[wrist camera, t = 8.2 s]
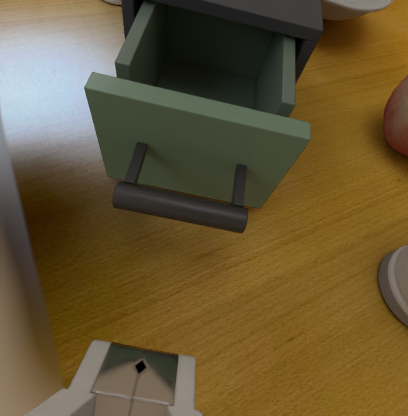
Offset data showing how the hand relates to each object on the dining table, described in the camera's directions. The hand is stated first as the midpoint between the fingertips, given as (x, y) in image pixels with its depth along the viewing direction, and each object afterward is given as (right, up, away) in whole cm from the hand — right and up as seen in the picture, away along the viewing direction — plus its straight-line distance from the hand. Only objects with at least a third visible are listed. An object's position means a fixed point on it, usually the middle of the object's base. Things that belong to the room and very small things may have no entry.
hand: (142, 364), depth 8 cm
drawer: (+1, +10, +15) cm, 18 cm away
